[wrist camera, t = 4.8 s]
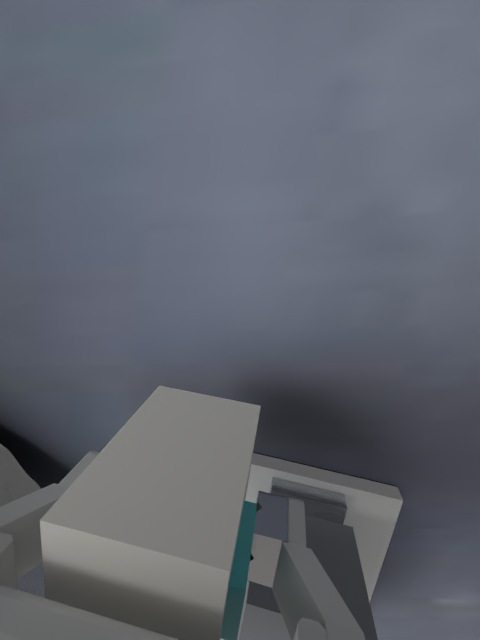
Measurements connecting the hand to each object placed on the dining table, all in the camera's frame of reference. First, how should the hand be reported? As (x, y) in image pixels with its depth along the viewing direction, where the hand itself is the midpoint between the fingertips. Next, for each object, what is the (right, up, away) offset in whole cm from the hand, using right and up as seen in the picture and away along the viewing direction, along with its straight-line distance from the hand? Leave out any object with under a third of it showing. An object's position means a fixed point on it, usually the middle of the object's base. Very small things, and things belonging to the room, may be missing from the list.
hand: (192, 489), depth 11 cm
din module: (0, +1, +2) cm, 2 cm away
